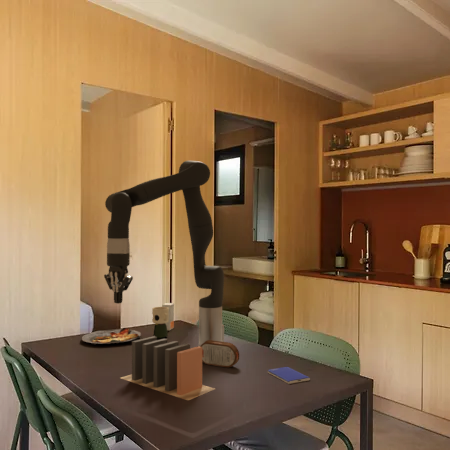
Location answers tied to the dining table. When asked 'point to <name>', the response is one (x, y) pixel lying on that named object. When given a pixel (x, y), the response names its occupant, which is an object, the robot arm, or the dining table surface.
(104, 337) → the food plate
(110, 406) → the dining table surface
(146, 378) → the domino
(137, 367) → the domino
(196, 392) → the board
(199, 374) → the domino
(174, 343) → the domino
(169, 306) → the skincare box
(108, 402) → the dining table surface
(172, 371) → the domino
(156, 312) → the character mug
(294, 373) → the blue notebook
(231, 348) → the tin
